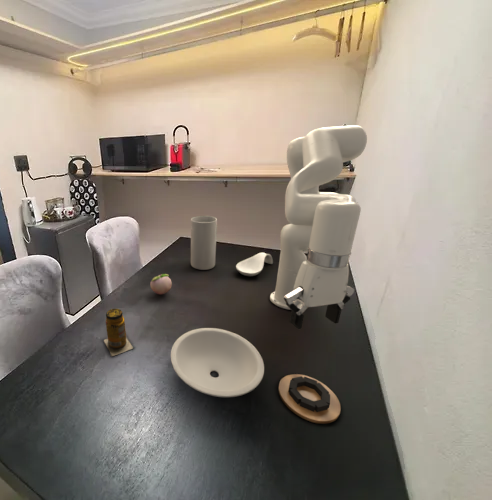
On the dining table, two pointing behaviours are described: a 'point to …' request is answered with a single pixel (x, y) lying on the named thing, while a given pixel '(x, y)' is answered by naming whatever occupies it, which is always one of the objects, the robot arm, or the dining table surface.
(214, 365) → the white sink bowl
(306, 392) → the coaster
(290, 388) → the ring
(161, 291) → the decorative fruit
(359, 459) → the dining table surface
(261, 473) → the dining table surface
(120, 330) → the condiment
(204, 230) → the cylinder vase
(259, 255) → the spoon rest
